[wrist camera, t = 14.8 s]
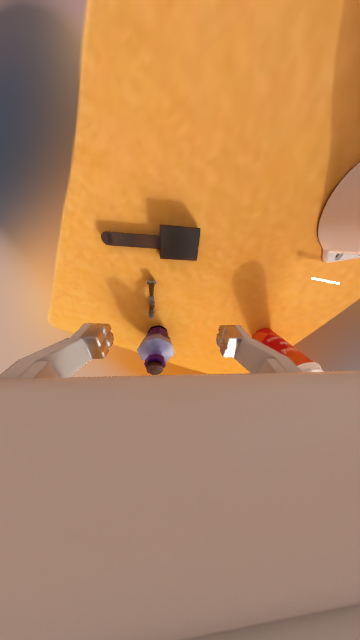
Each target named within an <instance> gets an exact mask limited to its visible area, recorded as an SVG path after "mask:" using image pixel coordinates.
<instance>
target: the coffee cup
mask: <svg viewBox="0 0 360 640" xmlns="http://www.w3.org/2000/svg"><path fill="white" fill-rule="evenodd" d="M253 339H255V340H257V341H259V342H261V343H262V344H264V345H266V346H268V347H270V348H272V349H274V350H276V351H277V352H279V353H281V354H283V355H285V356H287V357H289V358H290V359H291V360H292V361H293V362H294V364H295V365H296V366H297V367H298V368H299V369H300V370H301V371H302V372H323V370H322V369H321V367H320V365H319V364H318V363H315V362H313V361H311V360H310V359H309V358H307V357H306V356H305V355H303V354H302V353H301V352H299V351H298V350H297V349H296V348H294V347H293V346H292V345H290V344H289V343H288V342H286V341H285V340H284V339H282V338H281V337H280V336H278V335H277V334H276V333H274V332H273V331H272V330H270V329H268V328H264V329H260V330H258V331H257V332H256V333H255V334H254V335H253Z"/></svg>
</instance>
